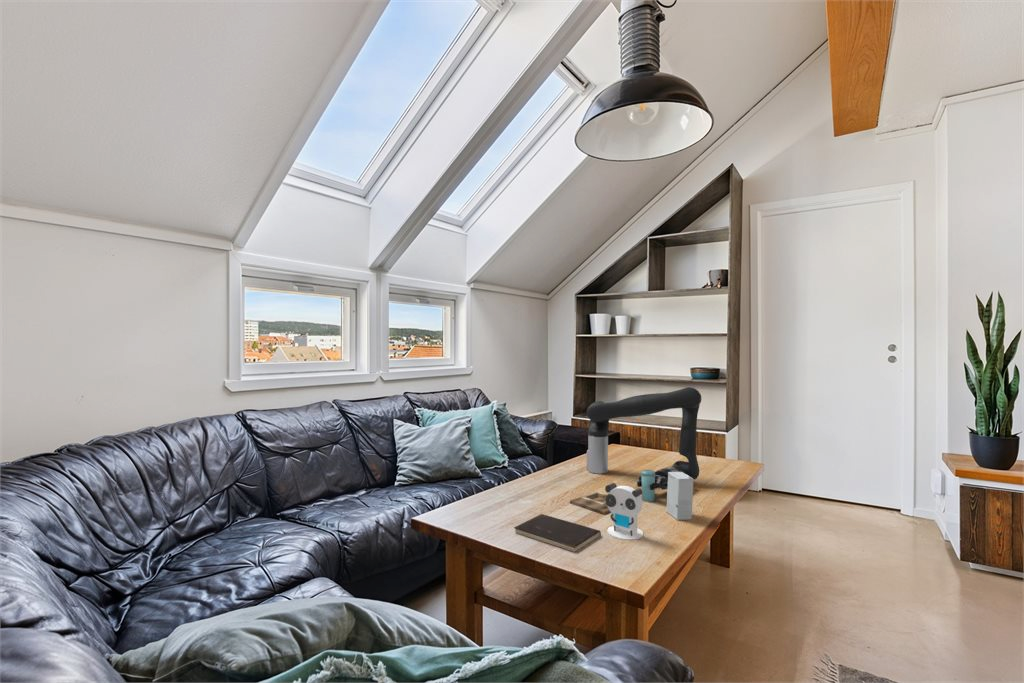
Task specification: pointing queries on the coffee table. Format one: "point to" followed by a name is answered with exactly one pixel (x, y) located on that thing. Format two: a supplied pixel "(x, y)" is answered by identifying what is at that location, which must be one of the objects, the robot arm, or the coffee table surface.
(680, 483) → the skincare box
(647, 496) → the teal domed canister
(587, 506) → the collar base
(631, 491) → the panda figurine
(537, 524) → the hardcover book
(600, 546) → the coffee table surface
